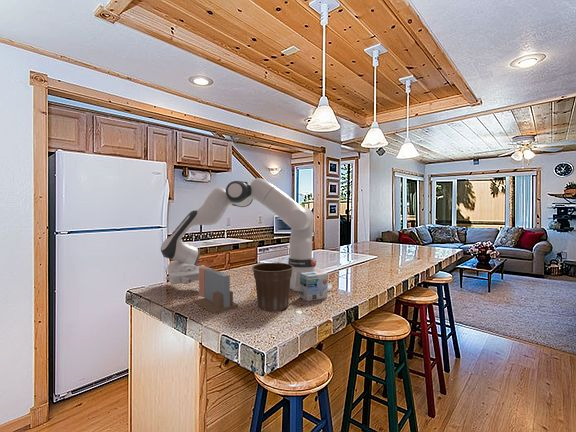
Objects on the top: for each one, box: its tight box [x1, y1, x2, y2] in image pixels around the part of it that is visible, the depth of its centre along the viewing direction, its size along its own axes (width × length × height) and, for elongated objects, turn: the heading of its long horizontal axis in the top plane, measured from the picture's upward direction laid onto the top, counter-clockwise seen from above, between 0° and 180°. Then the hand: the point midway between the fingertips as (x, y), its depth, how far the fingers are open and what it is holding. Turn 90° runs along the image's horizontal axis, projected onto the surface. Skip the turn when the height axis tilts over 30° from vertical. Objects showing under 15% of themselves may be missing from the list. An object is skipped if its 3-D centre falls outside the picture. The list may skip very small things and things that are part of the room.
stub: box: [198, 266, 210, 298], centre depth 138 cm, size 5×2×12 cm, turn 41°
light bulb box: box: [299, 270, 329, 302], centre depth 142 cm, size 11×7×11 cm, turn 117°
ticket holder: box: [195, 268, 239, 315], centre depth 130 cm, size 16×10×14 cm, turn 41°
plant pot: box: [251, 262, 293, 312], centre depth 129 cm, size 16×16×16 cm
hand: (199, 279), depth 142 cm, fingers open, 8 cm apart
